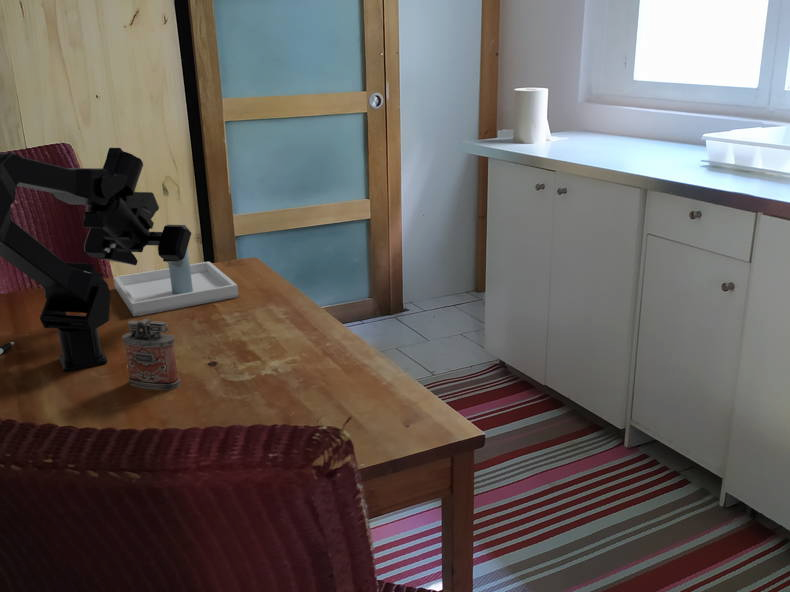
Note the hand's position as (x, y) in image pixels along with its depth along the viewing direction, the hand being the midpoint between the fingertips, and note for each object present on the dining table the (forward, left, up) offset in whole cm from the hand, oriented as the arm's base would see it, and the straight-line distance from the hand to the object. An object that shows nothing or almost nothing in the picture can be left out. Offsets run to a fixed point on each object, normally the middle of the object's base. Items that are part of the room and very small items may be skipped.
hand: (158, 263), depth 142 cm
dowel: (+6, -5, -8) cm, 11 cm away
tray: (+8, -4, -9) cm, 12 cm away
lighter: (-34, +9, -9) cm, 37 cm away
